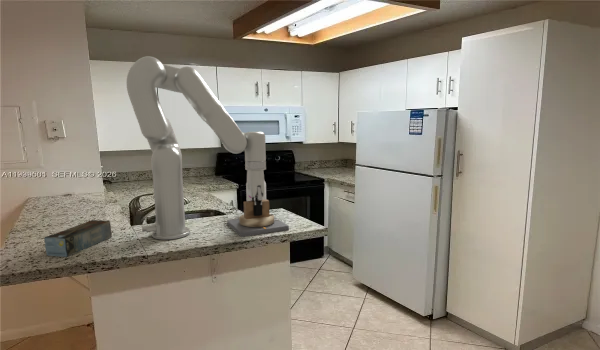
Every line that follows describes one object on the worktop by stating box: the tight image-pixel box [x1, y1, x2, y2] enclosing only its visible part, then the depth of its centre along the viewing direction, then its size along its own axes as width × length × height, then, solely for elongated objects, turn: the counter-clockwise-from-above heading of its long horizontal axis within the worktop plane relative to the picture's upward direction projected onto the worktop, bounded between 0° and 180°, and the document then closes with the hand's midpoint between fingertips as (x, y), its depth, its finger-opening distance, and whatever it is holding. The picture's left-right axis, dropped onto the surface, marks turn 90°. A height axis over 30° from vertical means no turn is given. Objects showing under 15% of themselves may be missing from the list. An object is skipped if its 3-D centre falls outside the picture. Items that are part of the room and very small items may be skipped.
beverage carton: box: [43, 219, 113, 258], centre depth 115 cm, size 8×19×7 cm, turn 168°
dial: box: [238, 198, 275, 227], centre depth 134 cm, size 13×13×8 cm
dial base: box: [226, 216, 290, 238], centre depth 135 cm, size 18×18×2 cm
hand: (256, 213), depth 134 cm, fingers closed on dial, 3 cm apart
